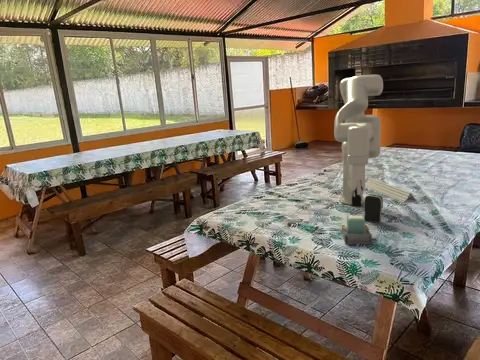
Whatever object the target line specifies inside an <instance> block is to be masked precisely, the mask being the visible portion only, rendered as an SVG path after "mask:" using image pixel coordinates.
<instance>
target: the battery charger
mask: <svg viewBox="0 0 480 360" xmlns="http://www.w3.org/2000/svg"><path fill="white" fill-rule="evenodd" d="M364 198H365V203H364V219H365V221H368V222H372V223H381V221H382V209H383V206H384V198H383V197H382V196H381V195H377V194H371V193H370V194H367V195H366V196H365V197H364Z"/></svg>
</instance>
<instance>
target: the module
mask: <svg viewBox="0 0 480 360" xmlns="http://www.w3.org/2000/svg"><path fill="white" fill-rule="evenodd" d="M364 218H365V216H364V215H346V231H347V233H348V234H364V232H365V225H366V220H365V219H364Z"/></svg>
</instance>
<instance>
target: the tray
mask: <svg viewBox="0 0 480 360" xmlns="http://www.w3.org/2000/svg"><path fill="white" fill-rule="evenodd" d="M369 229H370V228H369V226H368V225H366V224H365V232H364V234H348V233H347V227H346V226H345V224H343V225H341V234H342V238H343V242H344V244H345V245H372V239H373V238H372V237H373V234H372V233H371V231H370V230H369Z"/></svg>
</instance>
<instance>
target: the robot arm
mask: <svg viewBox="0 0 480 360" xmlns="http://www.w3.org/2000/svg"><path fill="white" fill-rule="evenodd" d="M383 90H384V81H383V77H382V75H380V74H364V75H363V74H362V75H361V74H360V75H354V76H353V75H352V77H345V78H343V79H342V80H340V82H339V91H340V95H341V98H342V100H343V104H344V105H342V107H340V109H339V110H338V111H337V113H336V114H335V117H334V125H333V127H334V128H333V129H334V130H333V134H334V135H333V136H334V139H335V141H336V142H338V143H341V153H342V168H343V169H342V195H341V196H340V197H339V202H340V203H342V204H344V205H348V206H351V207H353V208H356V207H357V208H361V207H362V205H363V204H365V197H364V196H363V195H364V194H363V193H364V191H365V188H366V187H365V184H366V165H368V164H369V159H376V158H378V157H380V154H381V143H382V141H381V138H382V137H381V135H382V134H381V133H382V122H381V119H380V117H379V115H376V114H365V111H366V110H367V109H368V106H369V100H368V99H369V98H368V97H371V96H373V97H375V96H380V95H381V94H382V92H383Z"/></svg>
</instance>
